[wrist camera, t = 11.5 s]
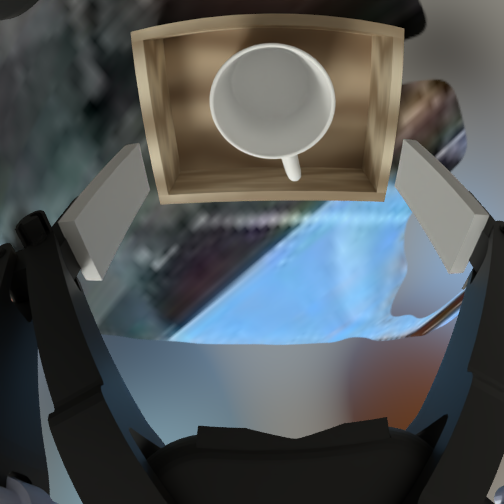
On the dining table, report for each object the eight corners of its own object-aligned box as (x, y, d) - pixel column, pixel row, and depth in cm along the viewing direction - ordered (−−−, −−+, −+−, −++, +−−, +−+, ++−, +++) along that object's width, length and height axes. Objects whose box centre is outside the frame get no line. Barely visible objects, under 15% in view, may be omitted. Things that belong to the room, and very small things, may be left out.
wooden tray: (154, 32, 22) (130, 32, 18) (379, 28, 21) (404, 28, 16) (175, 177, 33) (160, 204, 29) (367, 174, 32) (384, 201, 27)
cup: (300, 34, 22) (318, 31, 14) (328, 144, 29) (352, 190, 22) (215, 57, 24) (191, 65, 16) (252, 162, 31) (248, 213, 23)
